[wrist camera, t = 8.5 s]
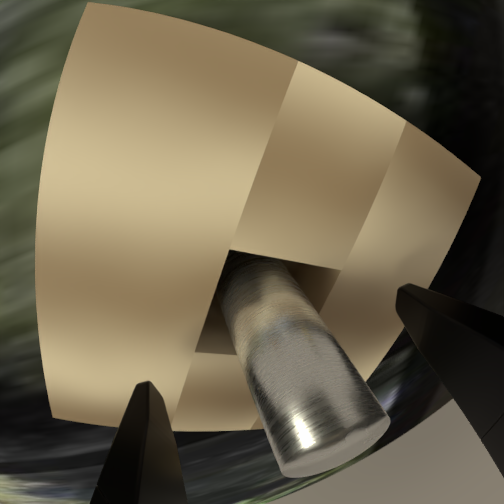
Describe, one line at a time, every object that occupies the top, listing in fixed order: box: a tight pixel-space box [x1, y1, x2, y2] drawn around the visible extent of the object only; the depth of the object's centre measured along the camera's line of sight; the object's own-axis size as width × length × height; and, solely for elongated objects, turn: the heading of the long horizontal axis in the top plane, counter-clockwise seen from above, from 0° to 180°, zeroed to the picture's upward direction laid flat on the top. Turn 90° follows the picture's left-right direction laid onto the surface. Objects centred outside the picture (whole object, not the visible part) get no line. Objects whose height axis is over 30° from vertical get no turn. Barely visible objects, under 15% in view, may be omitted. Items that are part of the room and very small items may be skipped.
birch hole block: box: [35, 2, 481, 431], centre depth 12 cm, size 14×14×4 cm
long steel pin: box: [215, 249, 390, 477], centre depth 9 cm, size 3×3×9 cm
